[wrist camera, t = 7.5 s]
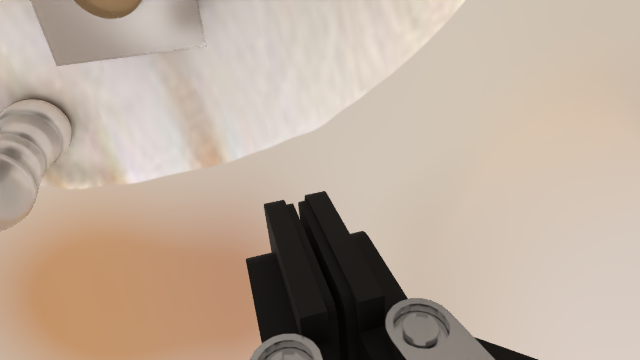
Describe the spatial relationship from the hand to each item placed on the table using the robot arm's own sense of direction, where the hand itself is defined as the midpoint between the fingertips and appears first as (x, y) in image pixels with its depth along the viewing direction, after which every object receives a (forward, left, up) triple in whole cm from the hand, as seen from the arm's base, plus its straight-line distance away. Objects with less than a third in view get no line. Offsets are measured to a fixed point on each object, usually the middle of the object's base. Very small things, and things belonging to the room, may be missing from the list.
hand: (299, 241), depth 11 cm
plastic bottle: (+20, +8, -39) cm, 45 cm away
